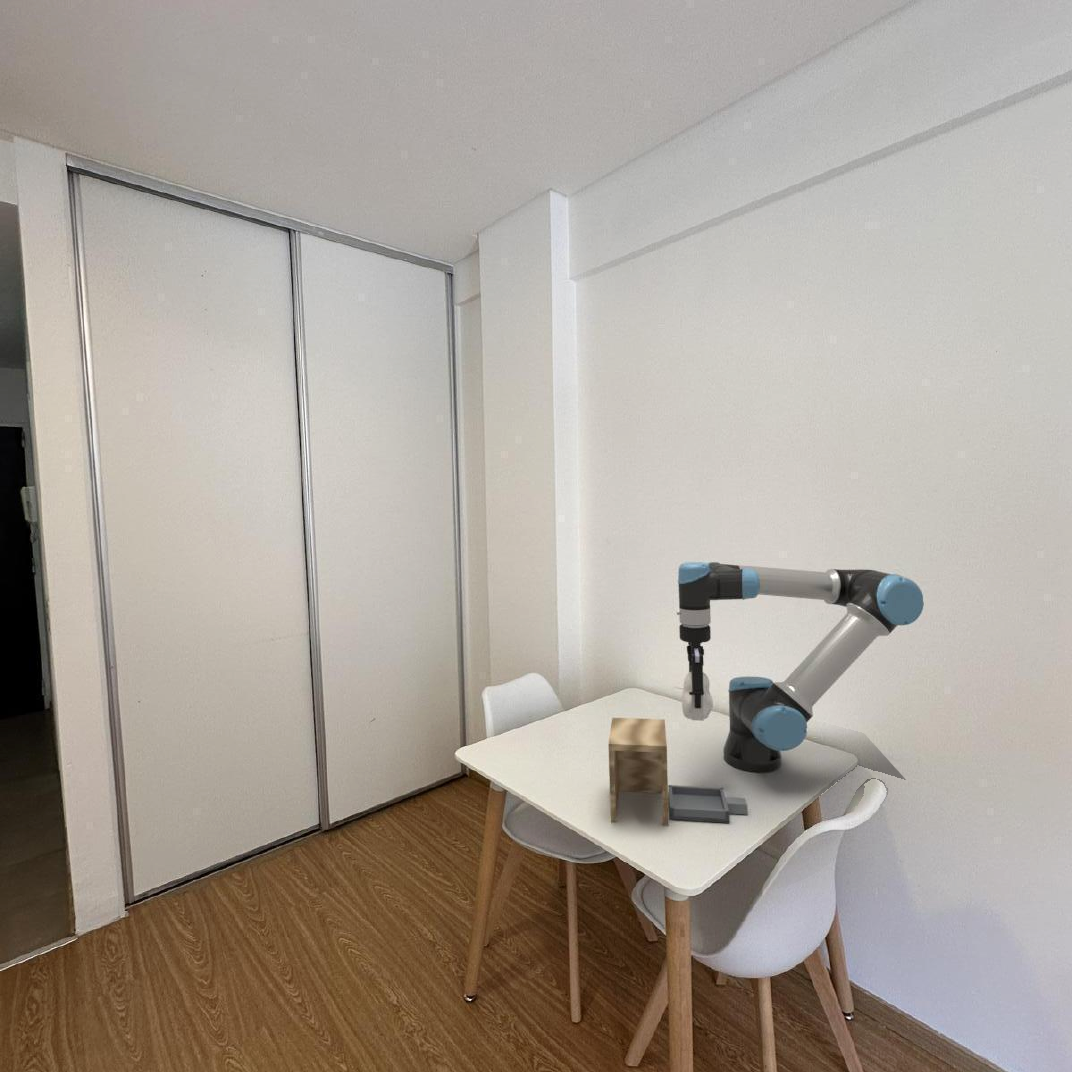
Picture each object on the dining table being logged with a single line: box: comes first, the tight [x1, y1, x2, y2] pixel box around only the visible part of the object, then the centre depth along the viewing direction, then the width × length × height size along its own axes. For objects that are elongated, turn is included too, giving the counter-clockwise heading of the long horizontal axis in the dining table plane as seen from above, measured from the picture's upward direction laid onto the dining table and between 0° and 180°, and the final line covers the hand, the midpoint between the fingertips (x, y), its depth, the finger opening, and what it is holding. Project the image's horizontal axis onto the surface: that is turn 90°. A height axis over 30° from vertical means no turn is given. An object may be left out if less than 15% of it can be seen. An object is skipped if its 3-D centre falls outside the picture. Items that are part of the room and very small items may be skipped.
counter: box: [608, 717, 670, 827], centre depth 143 cm, size 13×16×18 cm
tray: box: [668, 784, 748, 824], centre depth 140 cm, size 18×11×3 cm, turn 80°
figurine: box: [681, 671, 714, 720], centre depth 150 cm, size 7×8×12 cm
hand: (696, 713), depth 150 cm, fingers closed on figurine, 8 cm apart
